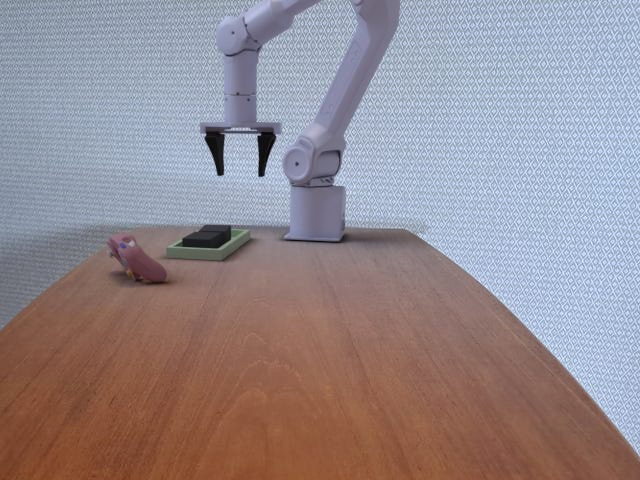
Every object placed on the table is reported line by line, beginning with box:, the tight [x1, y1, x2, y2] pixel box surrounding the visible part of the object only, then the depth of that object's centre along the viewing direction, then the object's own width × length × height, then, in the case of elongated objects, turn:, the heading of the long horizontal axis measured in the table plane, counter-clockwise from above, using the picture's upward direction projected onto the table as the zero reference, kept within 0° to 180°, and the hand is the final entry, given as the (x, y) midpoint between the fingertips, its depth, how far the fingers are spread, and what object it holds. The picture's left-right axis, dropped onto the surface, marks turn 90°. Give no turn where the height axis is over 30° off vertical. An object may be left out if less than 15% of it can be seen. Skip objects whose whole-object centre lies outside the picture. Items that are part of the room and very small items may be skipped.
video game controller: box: [106, 232, 167, 283], centre depth 89 cm, size 10×5×7 cm, turn 25°
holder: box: [165, 228, 251, 262], centre depth 108 cm, size 18×9×2 cm, turn 166°
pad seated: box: [181, 231, 222, 249], centre depth 104 cm, size 6×4×2 cm
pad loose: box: [198, 224, 232, 246], centre depth 110 cm, size 6×4×2 cm
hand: (240, 176), depth 123 cm, fingers open, 7 cm apart
